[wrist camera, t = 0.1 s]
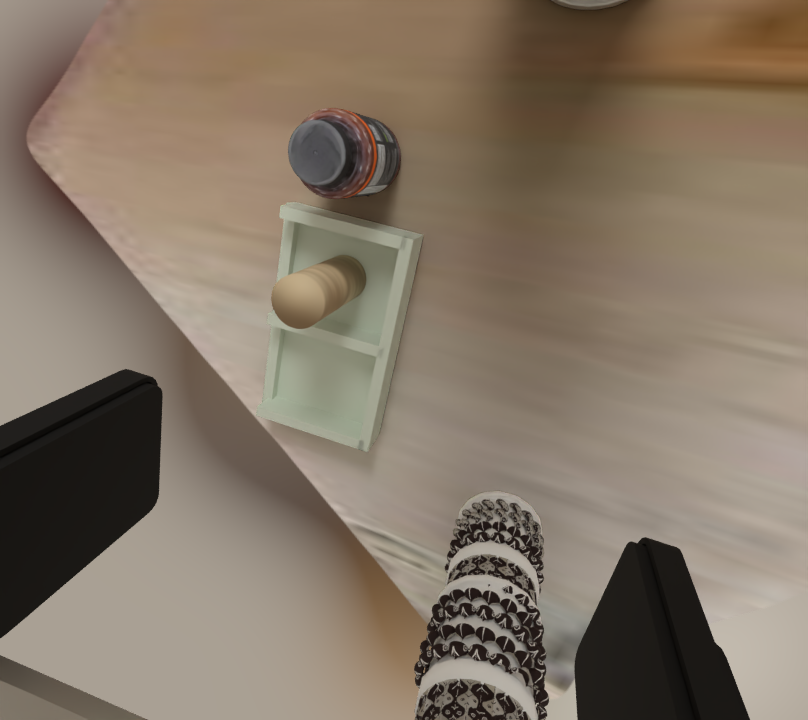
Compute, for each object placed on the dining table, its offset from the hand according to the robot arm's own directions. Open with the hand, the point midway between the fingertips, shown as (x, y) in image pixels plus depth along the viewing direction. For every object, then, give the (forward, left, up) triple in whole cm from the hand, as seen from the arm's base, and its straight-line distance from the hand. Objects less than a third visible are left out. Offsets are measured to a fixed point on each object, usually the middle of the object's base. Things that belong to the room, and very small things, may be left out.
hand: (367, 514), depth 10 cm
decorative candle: (+26, +7, -37) cm, 46 cm away
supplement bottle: (-5, -13, -37) cm, 39 cm away
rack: (+10, -13, -37) cm, 40 cm away
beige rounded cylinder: (+5, -13, -36) cm, 39 cm away
